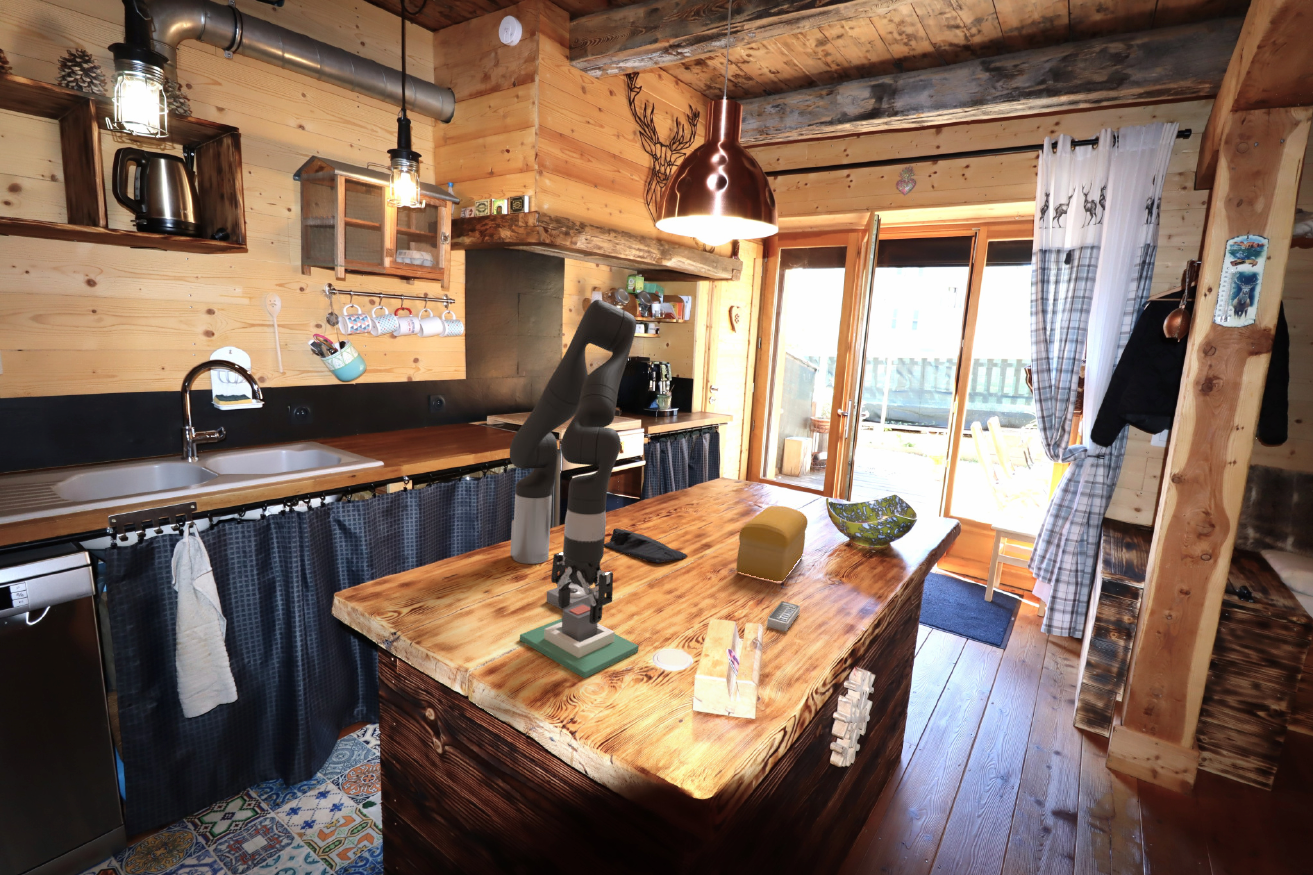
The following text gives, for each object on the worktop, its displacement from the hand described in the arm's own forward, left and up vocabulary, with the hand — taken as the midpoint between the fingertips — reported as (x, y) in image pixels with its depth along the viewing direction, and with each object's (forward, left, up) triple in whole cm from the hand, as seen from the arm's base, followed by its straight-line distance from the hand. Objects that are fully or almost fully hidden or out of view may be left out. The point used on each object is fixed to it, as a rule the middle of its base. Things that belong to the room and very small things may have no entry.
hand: (578, 614), depth 118 cm
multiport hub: (+21, +42, -7) cm, 48 cm away
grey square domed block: (-15, +12, -6) cm, 20 cm away
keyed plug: (0, 0, -5) cm, 5 cm away
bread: (+2, +70, -7) cm, 70 cm away
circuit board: (0, 0, -6) cm, 6 cm away
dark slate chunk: (-27, +51, -7) cm, 58 cm away
